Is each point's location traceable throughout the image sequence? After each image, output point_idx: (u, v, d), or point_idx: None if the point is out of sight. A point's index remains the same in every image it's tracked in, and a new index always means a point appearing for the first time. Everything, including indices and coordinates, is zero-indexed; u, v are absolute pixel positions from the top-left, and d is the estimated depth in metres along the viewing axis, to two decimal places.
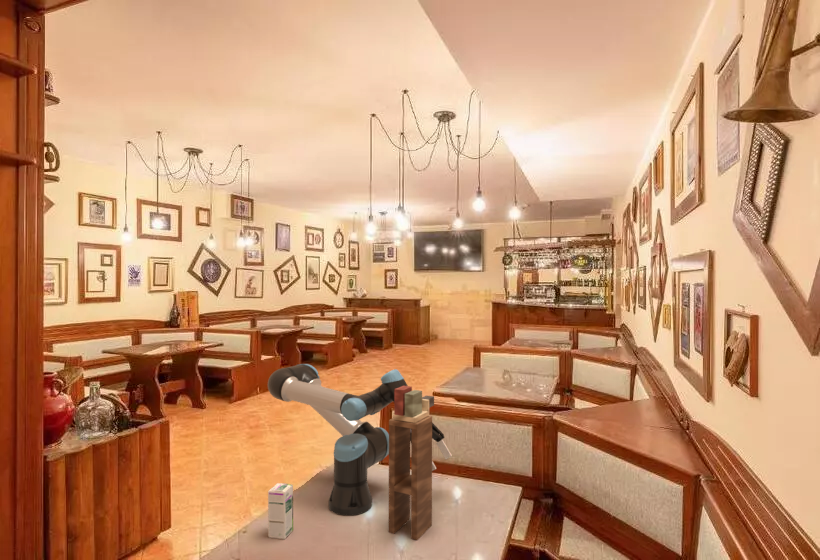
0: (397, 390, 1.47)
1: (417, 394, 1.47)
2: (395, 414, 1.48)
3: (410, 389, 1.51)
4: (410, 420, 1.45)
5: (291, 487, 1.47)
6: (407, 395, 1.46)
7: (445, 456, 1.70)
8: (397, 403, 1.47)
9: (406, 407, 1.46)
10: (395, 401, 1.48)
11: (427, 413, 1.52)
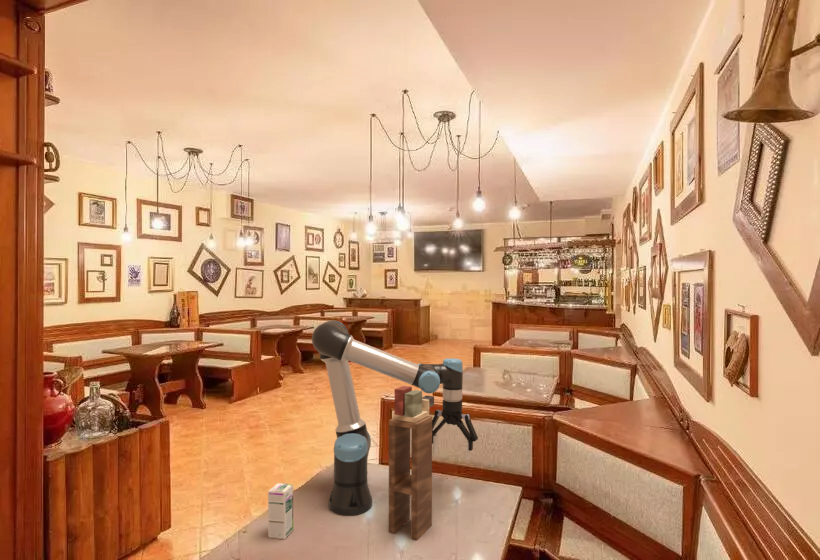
0: (397, 390, 1.47)
1: (417, 394, 1.47)
2: (395, 414, 1.48)
3: (410, 389, 1.51)
4: (410, 420, 1.45)
5: (291, 487, 1.47)
6: (407, 395, 1.46)
7: (435, 450, 1.82)
8: (397, 403, 1.47)
9: (406, 407, 1.46)
10: (395, 401, 1.48)
11: (427, 413, 1.52)
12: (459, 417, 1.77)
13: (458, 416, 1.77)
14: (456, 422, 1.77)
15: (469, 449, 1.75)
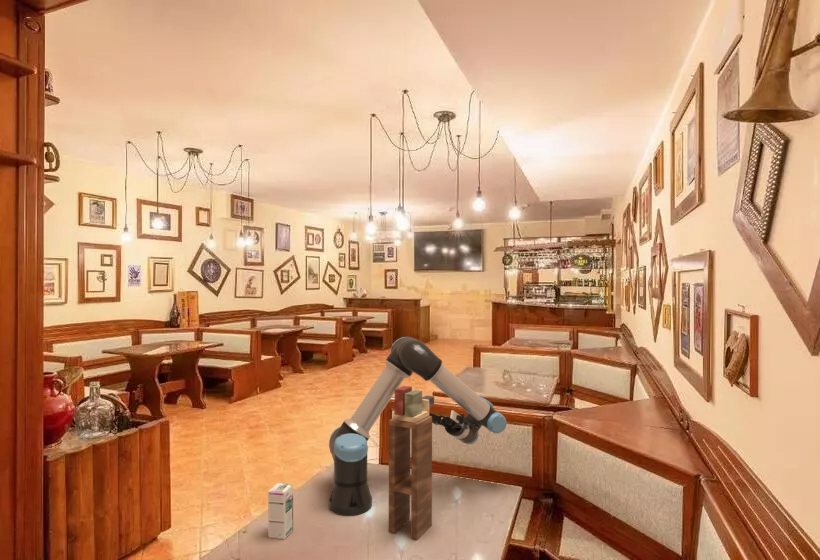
0: (397, 390, 1.47)
1: (417, 394, 1.47)
2: (395, 414, 1.48)
3: (410, 389, 1.51)
4: (410, 420, 1.45)
5: (291, 487, 1.47)
6: (407, 395, 1.46)
7: None
8: (397, 403, 1.47)
9: (406, 407, 1.46)
10: (395, 401, 1.48)
11: (427, 413, 1.52)
12: None
13: None
14: None
15: None
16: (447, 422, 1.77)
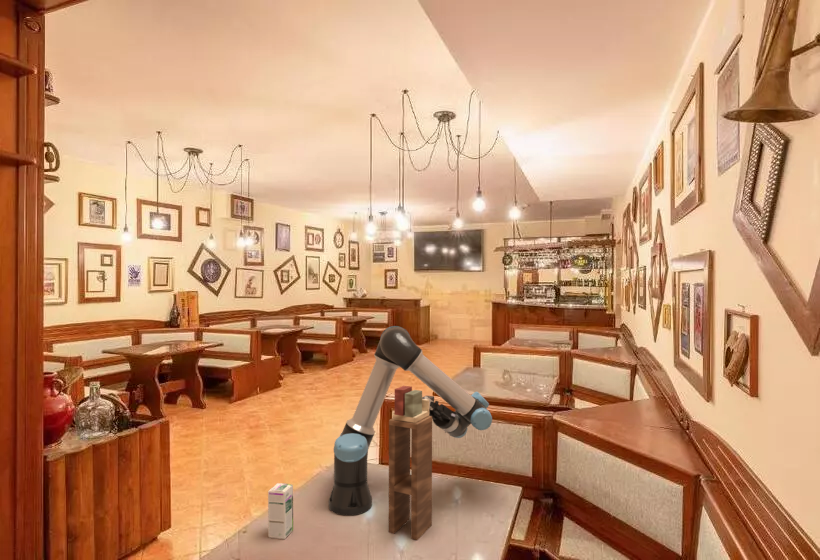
0: (397, 390, 1.48)
1: (417, 394, 1.47)
2: (395, 414, 1.48)
3: (410, 389, 1.51)
4: (410, 420, 1.45)
5: (291, 487, 1.47)
6: (407, 395, 1.46)
7: None
8: (397, 403, 1.47)
9: (406, 407, 1.46)
10: (395, 401, 1.48)
11: (427, 413, 1.52)
12: None
13: None
14: None
15: None
16: (436, 413, 1.67)
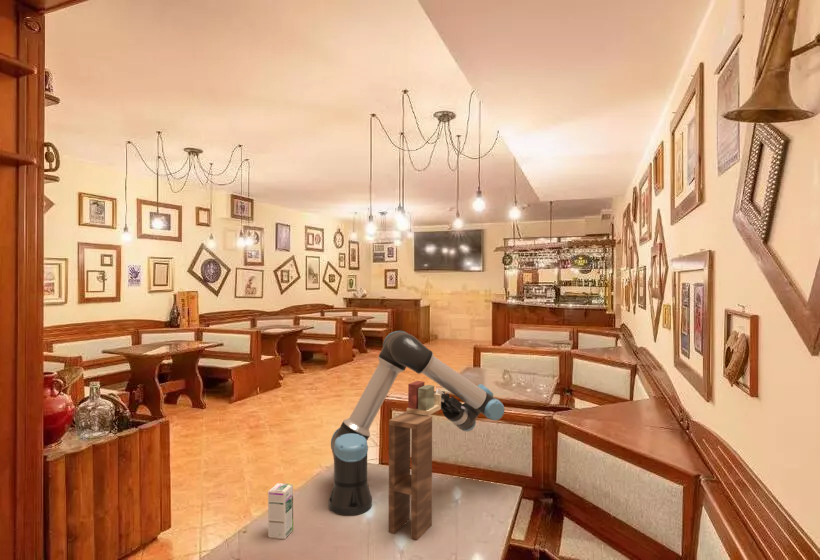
0: (411, 385, 1.56)
1: (430, 389, 1.56)
2: (409, 407, 1.56)
3: (423, 384, 1.59)
4: (423, 413, 1.53)
5: (291, 487, 1.47)
6: (420, 389, 1.54)
7: None
8: (410, 397, 1.56)
9: (419, 401, 1.54)
10: (409, 395, 1.56)
11: (439, 407, 1.60)
12: None
13: None
14: None
15: None
16: (446, 406, 1.75)
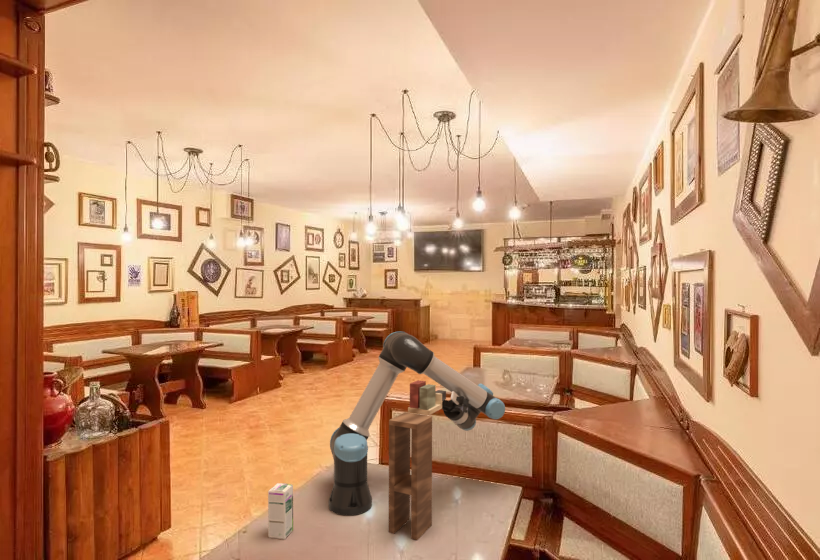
0: (412, 384, 1.56)
1: (431, 388, 1.56)
2: (410, 407, 1.57)
3: (424, 383, 1.60)
4: (425, 412, 1.54)
5: (291, 487, 1.47)
6: (422, 389, 1.55)
7: None
8: (412, 397, 1.56)
9: (421, 400, 1.55)
10: (410, 395, 1.57)
11: (440, 406, 1.61)
12: None
13: None
14: None
15: None
16: (447, 405, 1.76)
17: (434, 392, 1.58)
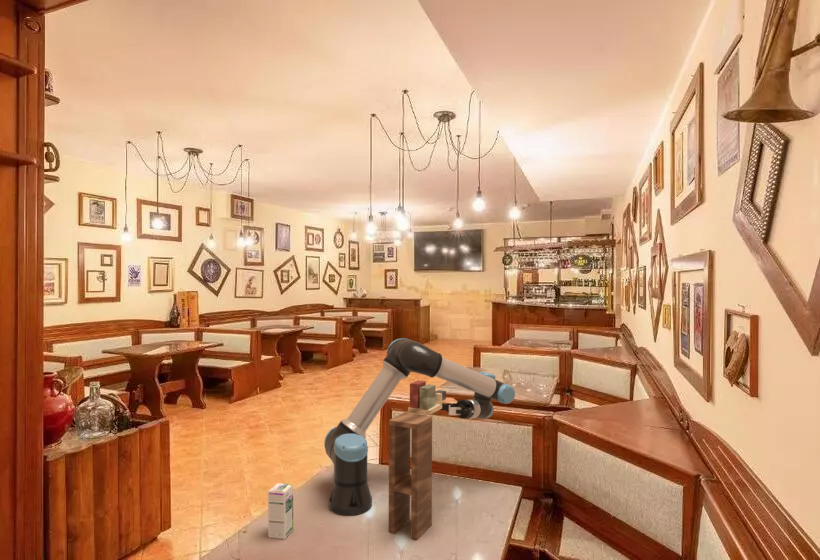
0: (412, 384, 1.56)
1: (431, 388, 1.56)
2: (410, 407, 1.57)
3: (424, 383, 1.60)
4: (425, 412, 1.54)
5: (291, 487, 1.47)
6: (422, 389, 1.55)
7: None
8: (412, 397, 1.56)
9: (421, 400, 1.55)
10: (410, 395, 1.57)
11: (440, 406, 1.61)
12: (466, 407, 1.86)
13: (465, 407, 1.87)
14: (461, 405, 1.86)
15: (457, 409, 1.75)
16: None
17: (434, 392, 1.58)
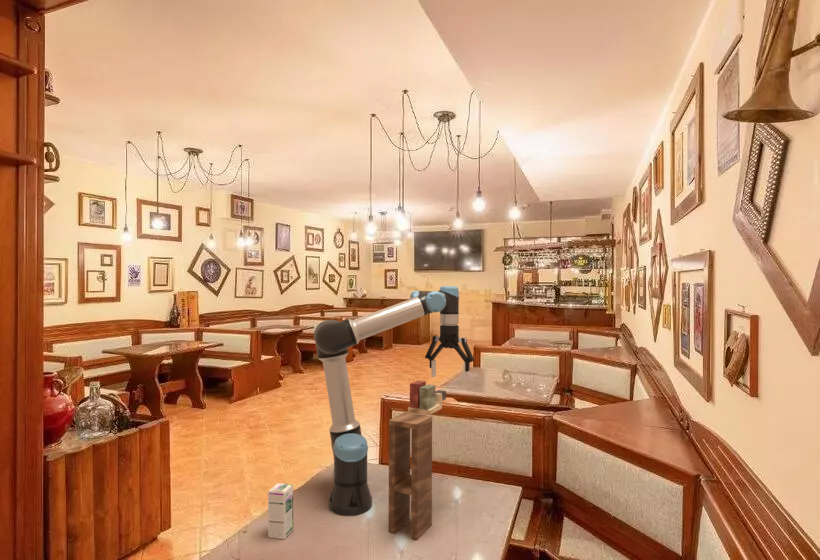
0: (412, 384, 1.56)
1: (431, 388, 1.56)
2: (410, 407, 1.57)
3: (424, 383, 1.60)
4: (425, 412, 1.54)
5: (291, 487, 1.47)
6: (422, 389, 1.55)
7: (433, 374, 1.90)
8: (412, 397, 1.56)
9: (421, 400, 1.55)
10: (410, 395, 1.57)
11: (440, 406, 1.61)
12: (456, 340, 1.85)
13: (455, 339, 1.85)
14: (453, 345, 1.85)
15: (466, 370, 1.83)
16: None
17: (434, 392, 1.58)
